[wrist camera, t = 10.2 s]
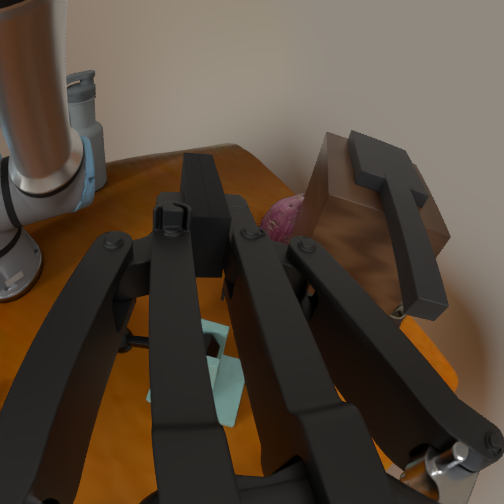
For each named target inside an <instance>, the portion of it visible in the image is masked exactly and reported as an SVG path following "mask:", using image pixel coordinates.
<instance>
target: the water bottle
mask: <svg viewBox="0 0 504 504" xmlns="http://www.w3.org/2000/svg"><path fill="white" fill-rule="evenodd" d="M94 76H95V71H94V70H89V71H83V72H79V73H73V74H70V75H68V76H66V84H69V83H71V82H74V81H78V80H80V83H76V84H73V85H70V86H68V87H67V100H68V112H69V122H70V126H71V127H72V128H73V129H75V130H76V131H77V133H78V134H79V135H80V136H86V137H88V138H89V140H90V142H91V146H92V151H93V159H94V169H95V176H94V179H95V191H97V190H99V189H100V188H102V187H103V186H104V184H105V183H106V180H107V174H106V164H105V153H104V139H103V127H102V125H101V124H100V123H99V122H97V121H95V100H94V99H95V97H96V96H95V94H96V93H95V84H94V80H93V77H94Z"/></svg>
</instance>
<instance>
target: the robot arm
mask: <svg viewBox="0 0 504 504" xmlns="http://www.w3.org/2000/svg"><path fill="white" fill-rule="evenodd" d="M67 2H68V0H0V128H1V130H2V133H3V135H4V138H5V140H6V142H7V145H8V147H9V150H10V152H11V153H10V156H8V157H5V158H1V154H0V303H7V302H11V301H14V300H16V299H18V298H20V297H22V296H23V295H24V294H26V293H27V292H28V291H29V290H30V289H31V288H32V287H33V286H34V285H35V283H36V282H37V280H38V278H39V277H40V274H41V272H42V268H43V256H42V253H41V250H40V248H39V246H38V244H37V243H36V242H35V241H34V239H33V238H32V237H31V236H30V235H29V234H28V233H27V232H26V231H25V229H24V228H23V227H22V226H25V225H28V224H32V223H35V222H38V221H41V220H45V219H48V218H51V217H55V216H58V215H62V214H65V213H69V212H71V213H73V212H76V211H77V210H79V209H82V208H85V207H87V206H89V205H90V204H91V203H92V201H93V199H94V195H95V179H94V176H95V169H94V159H93V151H92V146H91V142H90V140H89V138H88V137H86V136H80V135H79V134H78V133H77V131H76V130H75V129H73V128H72V127H71V126H70V122H69V112H68V100H67V84H66V17H67ZM250 212H251V211H250V209H249V208H248V204H247V202H246V200H245V199H244V198H242V197H241V196H240V195H232V194H224V192H223V188H222V185H221V182H220V179H219V175H218V172H217V169H216V166H215V163H214V159H213V156H212V155H210V154H196V153H184V157H183V166H182V176H181V187H180V193H179V192H161V193H160V194H159V195H158V196H157V201H156V206H155V207H154V209H153V231H152V232H151V234H149V235H148V236H146V237H144V238H141V239H137V240H132V238H131V236H130V235H128V234H127V233H124V232H121V231H111V232H106V233H104V234H102V235H100V236H99V237H98V238H97V239H96V240H95V241H94V243H93V244H92V246H91V247H90V248H89V250H88V251H87V253H86V254H85V256H84V257H83V259H82V260H81V262H80V263H79V265H78V266H77V268H76V269H75V271H74V272H73V274H72V275H71V277H70V278H69V280H68V282H67V283H66V285H65V286H64V288H63V290H62V291H61V293H60V294H59V296H58V298H57V299H56V301H55V303H54V304H53V306H52V308H51V310H50V311H49V313H48V315H47V317H46V318H45V320H44V322H43V324H42V325H41V327H40V329H39V331H38V333H37V335H36V337H35V338H34V340H33V342H32V344H31V346H30V348H29V350H28V352H27V354H26V356H25V358H24V360H23V362H22V364H21V366H20V368H19V370H18V373H17V375H16V377H15V379H14V381H13V384H12V386H11V388H10V390H9V393H8V395H7V397H6V400H5V402H4V405H3V407H2V410H1V412H0V504H73V502H74V500H75V497H76V494H77V491H78V487H79V483H80V480H81V475H82V471H83V467H84V462H85V458H86V454H87V450H88V446H89V442H90V439H91V435H92V431H93V428H94V424H95V421H96V417H97V414H98V410H99V407H100V404H101V400H102V397H103V394H104V391H105V387H106V384H107V381H108V378H109V375H110V372H111V369H112V366H113V363H114V360H115V357H116V354H117V352H118V349H119V346H120V343H121V340H122V338H123V335H124V332H125V329H126V327H127V324H128V321H129V319H130V316H131V313H132V311H133V308H134V306H135V303H136V297H140V296H145V295H149V375H150V397H151V414H152V447H153V457H154V466H155V474H156V481H157V489H158V490H157V491H155V492H153V493H151V494H150V495H149V496H147V497H146V498H144V499H143V500H142V501H141V502H140V503H139V504H467V503H468V501H469V498H470V496H471V493H472V490H473V488H474V485H475V482H476V479H477V477H478V474H479V472H480V470H482V469H484V468H486V467H488V466H489V465H491V464H493V463H494V462H496V461H498V460H499V459H500V458H501V457H502V455H503V453H504V437H503V435H502V433H501V431H500V430H499V429H498V428H497V426H495V425H494V424H493V423H491V422H490V421H488V420H487V419H486V418H484V417H483V416H482V415H480V414H479V413H477V412H476V411H475V410H473V409H472V408H471V407H469V406H468V405H466V404H465V403H464V402H462V401H461V400H459V399H458V398H457V396H456V395H455V394H454V392H453V391H452V390H451V389H450V387H449V386H448V385H447V384H446V383H445V381H444V380H443V379H442V378H441V376H440V375H439V374H438V373H437V372H436V370H435V369H434V368H433V367H432V366H431V365H430V363H429V362H428V361H427V360H426V359H425V357H424V356H423V355H422V354H421V353H420V352H419V350H418V349H417V348H416V347H415V346H414V345H413V344H412V342H411V341H410V340H409V339H408V338H407V337H406V335H405V334H404V333H403V332H402V331H401V330H400V329H399V328H398V326H397V325H396V324H395V323H394V322H393V321H392V320H391V319H390V318H389V316H388V315H387V314H386V313H385V312H384V311H383V310H382V309H381V308H380V306H379V305H378V304H377V303H376V302H375V301H374V300H373V299H372V298H371V297H370V296H369V295H368V293H367V292H366V291H365V290H364V289H363V288H362V287H361V286H360V285H359V284H358V283H357V282H356V281H355V280H354V278H353V277H352V276H351V275H350V274H349V273H348V272H347V271H346V270H345V269H344V268H343V267H342V266H341V265H340V264H339V263H338V262H337V261H336V260H335V259H334V258H333V257H332V256H331V254H330V253H329V252H328V251H327V250H326V249H325V248H324V247H323V246H322V245H321V244H320V243H318V242H317V241H316V240H314V239H312V238H310V237H306V236H295V237H292V238H291V239H290V241H289V244H288V245H287V244H283V243H279V242H275V241H272V240H271V239H270V237H269V235H268V233H267V232H266V231H265V230H264V229H263V228H261V227H259V226H257V225H256V223H255V221H254V218H253V216H252V214H251V213H250ZM223 268H224V273H225V278H224V284H223V289H222V295H221V300H224V296H226V301H227V305H228V310H229V314H230V319H231V323H232V328H233V332H234V337H235V341H236V346H237V350H238V354H239V358H240V363H241V367H242V371H243V375H244V380H245V384H246V388H247V392H248V396H249V400H250V404H251V408H252V412H253V416H254V420H255V424H256V428H257V432H258V435H259V439H260V443H261V466H262V471H263V474H264V477H258V476H244V475H235V473H234V469H233V464H232V460H231V455H230V451H229V446H228V442H227V438H226V434H225V431H224V428H223V426H222V425H221V424H220V423H219V420H218V417H217V412H216V407H215V402H214V396H213V391H212V385H211V379H210V374H209V368H208V362H207V355H206V349H205V343H204V336H203V329H202V322H201V315H200V308H199V301H198V293H197V285H196V277H211V278H221V277H222V271H223ZM310 285H311V286H312V288H313V289H314V290H315V292H314V294H313V295H312V294H311V293H310V292H309V291H308V289H309V287H310ZM334 385H335V386H336V388H337V389H338V391H339V392H340V393H341V395H342V396H343V398H344V399H345V400H346V402H343V401H342V400H341V399H340V397H339V396H338V393H337V391H336V389H335V386H334ZM371 437H372V438H373V439H374V441H375V442H376V444H377V445H378V446H379V447H380V449H381V450H382V451H383V452H384V454H385V455H386V456H387V457H388V458H389V459H390V460H391V461H392V462H393V463H394V464H395V465H397V466H398V467H399V468H401V469H402V470H403V471H404V472H403V473H402V474H401V476H400V480H398V479H396V478H394V477H393V476H391V475H390V474H388V473H386V471H385V469H384V467H383V464H382V462H381V459H380V457H379V454H378V452H377V450H376V447H375V445H374V442H373V440H372V438H371Z"/></svg>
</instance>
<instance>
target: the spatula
mask: <svg viewBox="0 0 504 504" xmlns="http://www.w3.org/2000/svg"><path fill="white" fill-rule="evenodd" d="M348 146H349V151H350V156H351V161H352V166H353V172H354V177H355V183H356V184H357V185H360V186H363V187H366V188H369V189H372V190H375V191H378V192H379V193H380V197H381V200H382V204H383V208H384V212H385V216H386V220H387V225H388V229H389V233H390V238H391V242H392V247H393V252H394V257H395V262H396V267H397V273H398V279H399V284H400V291H401V297H402V304H403V311H404V314H406V315H410V316H414V317H418V318H423V319H427V320H431V321H435V320H436V319H437V318H438V317H439V316H440V315H441V314H442V313H443V312H444V311H445V310H446V309H447V308H448V306H449V305H448V301H447V297H446V293H445V290H444V286H443V282H442V279H441V275H440V272H439V268H438V265H437V262H436V258H435V255H434V252H433V249H432V246H431V243H430V240H429V237H428V234H427V232H426V229H425V226H424V223H423V221H422V218H421V215H420V213H419V210H418V208H417V206H418V207H420V208H422V207H423V206H424V204H425V202H426V201H427V199H428V197H429V195H428V193H427V191H426V189H425V187H424V185H423V183H422V181H421V179H420V177H419V175H418V173H417V171H416V169H415V167H414V165H413V163H412V162H411V160H410V158H409V156H408V154H407V153H406V151H405V150H403V149H400V148H398V147H395V146H393V145H390V144H388V143H385V142H383V141H380V140H377V139H375V138H372V137H369V136H367V135H364V134H361V133H358V132H355V131H352V130H351V133H350V135H349V138H348Z"/></svg>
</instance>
